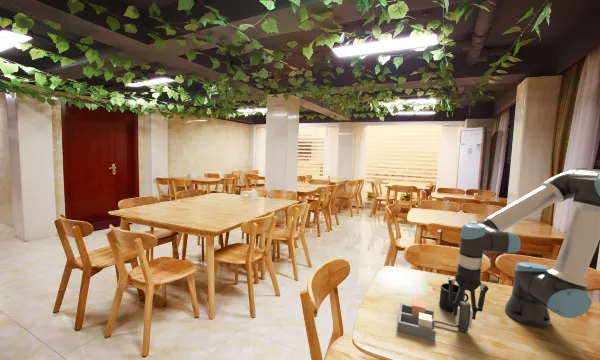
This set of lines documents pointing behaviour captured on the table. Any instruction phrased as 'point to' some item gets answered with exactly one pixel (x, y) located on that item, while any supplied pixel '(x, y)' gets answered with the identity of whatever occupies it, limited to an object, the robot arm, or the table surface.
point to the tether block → (461, 326)
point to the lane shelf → (414, 323)
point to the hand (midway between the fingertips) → (463, 324)
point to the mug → (445, 297)
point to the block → (425, 320)
